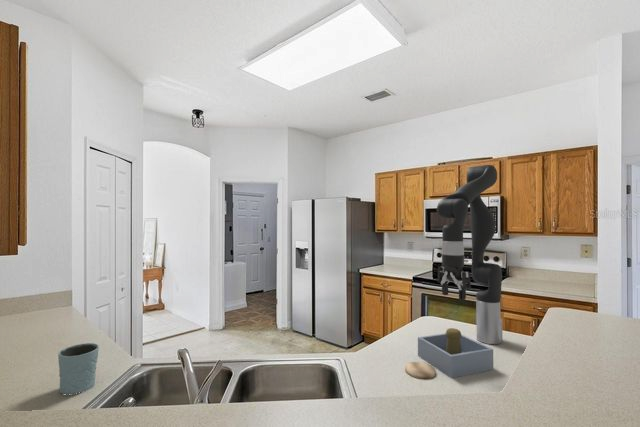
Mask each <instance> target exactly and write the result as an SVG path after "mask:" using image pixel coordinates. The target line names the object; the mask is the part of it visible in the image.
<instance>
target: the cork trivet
mask: <svg viewBox="0 0 640 427" xmlns="http://www.w3.org/2000/svg"><path fill="white" fill-rule="evenodd" d="M404 370H405V373H406V374H407V375H409V376H410V377H413V378H416V379H422V380H424V379H425V380H427V379H428V380H429V379H432V378H435V376H436V375H437V374H436V372H437V371H436V367H434V366H433V365H431V364H430V363H425V362H422V361H421V362H420V361H411V362H408V363H406V364H405V366H404Z"/></svg>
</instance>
